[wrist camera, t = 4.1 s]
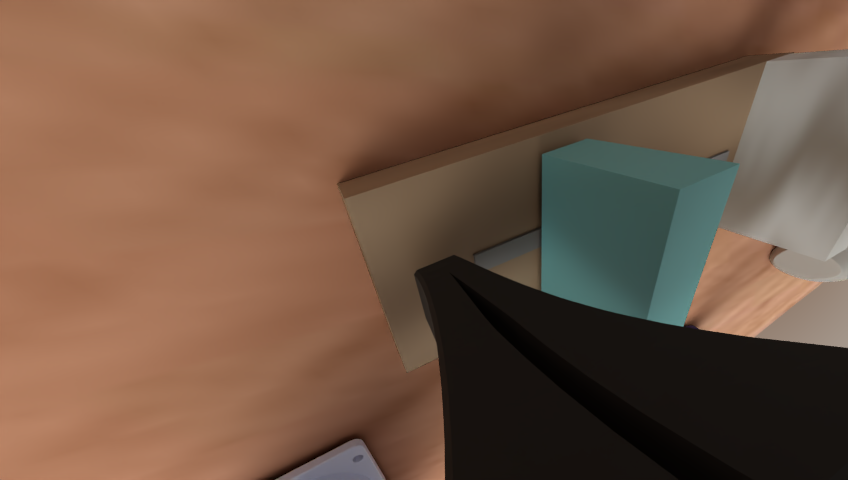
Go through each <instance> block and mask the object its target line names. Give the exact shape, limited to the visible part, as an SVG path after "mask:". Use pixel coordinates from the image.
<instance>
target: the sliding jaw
mask: <svg viewBox="0 0 848 480" xmlns="http://www.w3.org/2000/svg"><path fill="white" fill-rule="evenodd" d="M739 165H740V164H739V163H733V162H727V161H721V160H715V159H709V158H703V157H697V156H691V155H685V154H679V153H672V152H666V151H660V150H654V149H648V148H642V147H636V146H630V145H624V144H618V143H612V142H606V141H600V140H593V139H585V140H582V141H579V142H576V143H573V144H570V145H567V146H564V147H561V148H558V149H555V150H553V151H550V152H547V153H544V154H542V267H541V291H543V292H546V293H549V294H552V295H554V296H557V297H561V298H564V299H567V300H570V301H573V302H577V303H581V304H584V305H588V306H592V307H595V308H599V309H602V310H606V311H610V312H614V313H619V314H623V315H627V316H632V317H637V318H641V319H646V320H651V321H656V322H660V323H665V324H671V325H676V326H682V327H683V326H684V323H685V320H686V317H687V314H688V311H689V308H690V306H691V303H692V300H693V297H694V294H695V291H696V288H697V285H698V283H699V280H700V277H701V274H702V271H703V268H704V265H705V263H706V260H707V257H708V254H709V251H710V248H711V245H712V243H713V240H714V237H715V234H716V231H717V228H718V225H719V223H720V220H721V217H722V214H723V211H724V208H725V205H726V203H727V200H728V197H729V194H730V191H731V188H732V185H733V183H734V180H735V177H736V174H737V171H738V168H739Z"/></svg>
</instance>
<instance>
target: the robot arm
mask: <svg viewBox="0 0 848 480" xmlns="http://www.w3.org/2000/svg"><path fill="white" fill-rule="evenodd" d="M414 277H415V281H416V284H417V288H418V291H419V295H420V299H421V302H422V306H423V310H424V313H425V317H426V320H427V322H428V324H429V326H430V329H431V331H432V333H433V336H434V338H435V341H436V344H437V350H438V358H439V366H440V376H441V386H442V400H443V416H444V438H445V480H848V348H843V347H834V346H825V345H816V344H807V343H798V342H789V341H779V340H771V339H761V338H753V337H746V336H739V335H732V334H725V333H719V332H712V331H706V330H699V329H693V328H688V327H682V326H676V325H671V324H665V323H660V322H656V321H651V320H646V319H641V318H637V317H632V316H627V315H623V314H619V313H614V312H610V311H606V310H602V309H599V308H595V307H592V306H588V305H584V304H581V303H577V302H573V301H570V300H567V299H564V298H561V297H557V296H554V295H552V294H549V293H546V292H543V291H540V290H537V289H534V288H532V287H529V286H526V285H524V284H521V283H518V282H516V281H513V280H511V279H509V278H506V277H504V276H501V275H499V274H497V273H494V272H492V271H490V270H487V269H485V268H483V267H481V266H478V265H476V264H474V263H472V262H470V261H467V260H465V259H463V258H461V257H458V256H456V255H452V256H450V257H447V258H445V259H442V260H440V261H438V262H435V263H433V264H430V265H428V266H425V267H423V268H420V269H418V270H416V272H415V274H414ZM275 480H386V479H385V477H384V475H383V474H382V472H381V470H380V468H379V467H378V465H377V463H376V462H375V460H374V458H373V457H372V455H371V453H370V451H369V450H368V448H367V446H366V445H365V443H364V441H363V440H361V439H353V440H351V441H349V442H347V443H345V444H343V445H341V446H339V447H337V448H335V449H333V450H331V451H329V452H327V453H325V454H323V455H322V456H320V457H318V458H316V459H314V460H312V461H310V462H308V463H306V464H304V465H302V466H300V467H298V468H296V469H294V470H292V471H291V472H289V473H287V474H285V475H283V476H281V477H279V478H277V479H275Z"/></svg>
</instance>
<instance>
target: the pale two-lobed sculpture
mask: <svg viewBox="0 0 848 480" xmlns="http://www.w3.org/2000/svg"><path fill="white" fill-rule="evenodd" d="M770 261H771V263H772V264H773V266H775V267H776V268H777V269H779V270H780V271H782V272H784V273H786V274H789V275H791V276H794V277H797V278H800V279H804V280H809V281H816V282H833V281H842V280H847V279H848V247H847V248H846V249H845V250H843V251H842V252H840V253H838V254H837V255H835V256H833V257H832V258H830V259H828V260H827V261H825V262H824V261H821V260H818V259H815V258H812V257H809V256H806V255H803V254H800V253H796V252H793V251H790V250H787V249H784V248H781V247H776V248H775V249H774V250H773V251H772V253H771V255H770Z"/></svg>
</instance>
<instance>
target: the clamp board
mask: <svg viewBox="0 0 848 480" xmlns="http://www.w3.org/2000/svg"><path fill="white" fill-rule="evenodd" d="M585 139H593V140H600V141H606V142H612V143H618V144H624V145H630V146H636V147H642V148H648V149H654V150H660V151H666V152H672V153H679V154H685V155H691V156H697V157H703V158H709V159H715V160H721V161H727V162H733V163H739V164H740V165H739V168H738V171H737V174H736V177H735V180H734V183H733V185H732V188H731V191H730V194H729V197H728V200H727V203H726V205H725V208H724V211H723V214H722V217H721V220H720V223H719V225H718V227H719V228H722V229H725V230H728V231H731V232H734V233H737V234H741V235H744V236H747V237H750V238H753V239H756V240H759V241H762V242H765V243H768V244H772V245H775V246H778V247H781V248H784V249H787V250H790V251H793V252H796V253H800V254H803V255H806V256H809V257H812V258H815V259H818V260H821V261H824V262H825V261H827V260H828V259H830V258H832V257H833V256H835V255H837V254H838V253H840V252H842V251H843V250H845V249H846V248H847V247H848V49H846V50H832V51H819V52H805V53H794V52H792V53H778V54H765V55H751V56H746V57H743V58H739V59H736V60H733V61H730V62H726V63H723V64H720V65H717V66H714V67H710V68H707V69H704V70H701V71H698V72H694V73H691V74H688V75H685V76H682V77H678V78H675V79H672V80H669V81H666V82H662V83H659V84H656V85H653V86H650V87H646V88H643V89H640V90H637V91H634V92H630V93H627V94H624V95H621V96H618V97H614V98H611V99H608V100H605V101H602V102H598V103H595V104H592V105H589V106H586V107H582V108H579V109H576V110H573V111H570V112H566V113H563V114H560V115H557V116H554V117H550V118H547V119H544V120H541V121H537V122H534V123H531V124H528V125H525V126H521V127H518V128H515V129H512V130H509V131H505V132H502V133H499V134H496V135H493V136H489V137H486V138H483V139H480V140H477V141H473V142H470V143H467V144H464V145H461V146H457V147H454V148H451V149H448V150H445V151H441V152H438V153H435V154H432V155H429V156H425V157H422V158H419V159H416V160H413V161H409V162H406V163H403V164H400V165H397V166H393V167H390V168H387V169H384V170H381V171H377V172H374V173H371V174H368V175H365V176H361V177H358V178H355V179H352V180H349V181H345V182H342V183H339V184H337V185H338V188H339V191H340V194H341V196H342V199H343V202H344V205H345V207H346V210H347V213H348V216H349V218H350V221H351V224H352V227H353V229H354V232H355V235H356V238H357V240H358V243H359V246H360V249H361V251H362V254H363V257H364V260H365V262H366V265H367V268H368V271H369V273H370V276H371V279H372V281H373V284H374V287H375V290H376V292H377V295H378V298H379V301H380V303H381V306H382V309H383V312H384V314H385V317H386V320H387V323H388V325H389V328H390V331H391V334H392V336H393V339H394V342H395V345H396V347H397V350H398V352H399V355H400V357H401V359H402V362H403V364H404V367H405V369H406V372H407V373H408V372H410V371H412V370H414V369H417V368H419V367H421V366H423V365H425V364H427V363H429V362H431V361H433V360H435V359H437V358H438V350H437V344H436V341H435V338H434V336H433V333H432V331H431V329H430V326H429V324H428V322H427V320H426V317H425V313H424V310H423V306H422V302H421V299H420V295H419V291H418V288H417V284H416V281H415V277H414V274H415V272H416V270H418V269H420V268H423V267H425V266H428V265H430V264H433V263H435V262H438V261H440V260H442V259H445V258H447V257H450V256H452V255H456V256H458V257H461V258H463V259H465V260H467V261H470V262H472V263H474V264H476V265H478V266H481V267H483V268H485V269H487V270H490V271H492V272H494V273H497V274H499V275H501V276H504V277H506V278H509V279H511V280H513V281H516V282H518V283H521V284H524V285H526V286H529V287H532V288H534V289H537V290H540V291H541V267H542V154H544V153H547V152H550V151H553V150H555V149H558V148H561V147H564V146H567V145H570V144H573V143H576V142H579V141H582V140H585Z"/></svg>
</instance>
